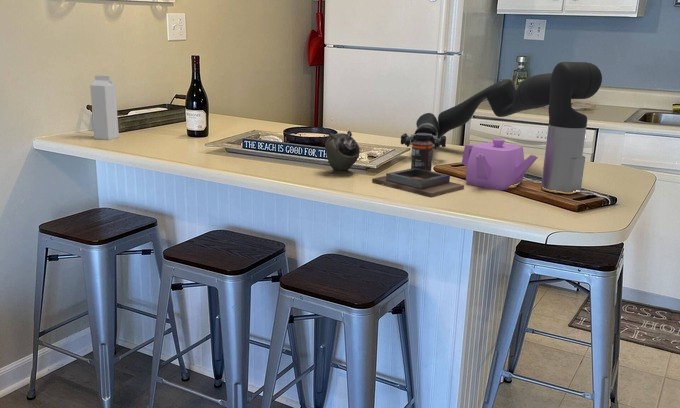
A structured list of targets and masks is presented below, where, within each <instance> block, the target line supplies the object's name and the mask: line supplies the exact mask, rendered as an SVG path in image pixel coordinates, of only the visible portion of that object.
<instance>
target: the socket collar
mask: <svg viewBox="0 0 680 408" xmlns="http://www.w3.org/2000/svg"><path fill="white" fill-rule="evenodd" d="M385 176H386V181H389V182H393V183H397V184H401V185H405V186H409V187H413V188H417V189H426V188H430V187H434V186H438V185H442V184H447V183H450V182H451V181H450V179H451V175H449V174H445V173H439V172H436V171H432V170H431V171H427V170H423V169H418V168H411V167H410V168H407V169H403V170H397V171H392V172H387V173H385ZM410 177H420V178H424V179H423V180H419V179H415V178H410Z"/></svg>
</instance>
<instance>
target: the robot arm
mask: <svg viewBox="0 0 680 408" xmlns="http://www.w3.org/2000/svg"><path fill="white" fill-rule="evenodd" d="M602 82H603V75H602V72H601V70H600V68H599V67H598V66H597V65H595V64H594V63H591V62H586V61H561V62H558V63H556V65H555V66H554V67H553V69H552V72H551V73H550V72H549V73H548V72H547V73H540V74H535V75H532V76H530V77H526V78H524V79H523V80H522V81H521V82H520V83H519V84H518V86H517V88H516V87H515V84H514V82H513V81H512V80H511V79H509V78H507V79H502V80H499V81H497V82H495V83H494V84H490V86H487V87H485V88H484V89H482V90H481V91H479V92H477V93H475V94H474V95H472V96H470V97H469V98H467V99H465V100H464V101H462V102H461V103H459V104H457V105H455V106H452V107H450V108H448V109H445V110H443V111H441V112H440V113H439V114H438V116H437V117H436V115H435V114H433V113H430V112H425V113H424V114H421V115H420V116H419V117H418V118H417V119H416V130H415V132H414V133H413V134H410V135H409V134H408V133H406V132H405V133H403V134H402V135H400V145H404V146H406V147H410V146H412V143H413V141H415V140H416V134H417V133H428V134H430V139H429V140H430V141H431V142H432V144H433V147H432V148H433V149H435V150H436V149H437V148H440V146H441V148H446V146H447V145H446V143H447V136H446V135H445V134H447V133H448V132H451V130H453V129H456V128H459V127H462V126H464V125H466V124H467V123H468V122H469V121H470V120H471V119H472V117H473V115H474V113H475V112H476V111H477V108H478V107H479V106H480V105H481V104H482V102H484V101H485V100H487V101H488V104H489V106H490V108H491V110H492V112H493V113H494V115H495V116H496V117H498V118H504V117H509V116H512V115H515V114H517V113H520V112H524V111H528V110H533V109H539V108H544V107H548V126H547V127H548V128H547V136H546V142H545V152H544V158H543V168H542V176H541V182H540V184H541V185H540V187H541V186H542V187H544V188H546V189H549V190H556V191H563V192H573V191H576V190H581V191H582V185H583V184H582V183H583V177H584V169H585V162H586V156H585V155H583V154H584V146H585V139H586V133H587V132H586V131H587V125H588V116H587V115H585V114H584V113H581V112H578V111H576V109H574V108H573V107H572V100H587V99H590V98H591V97H592V98H593V96H594V95H595V94H597V93H598V91H599V89H600V88H601V86H602Z"/></svg>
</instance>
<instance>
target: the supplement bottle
mask: <svg viewBox="0 0 680 408" xmlns="http://www.w3.org/2000/svg"><path fill="white" fill-rule="evenodd" d="M429 139H430V134H428V133H417V134H416V140H415V141H413V143H412V145H411V162H410V163H411V164H410V169H411V168H418V169H423V170H427V171H432V163H433V161H432V160H433V148H434V147H433V144H432V142H431V141H430V140H429Z"/></svg>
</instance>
